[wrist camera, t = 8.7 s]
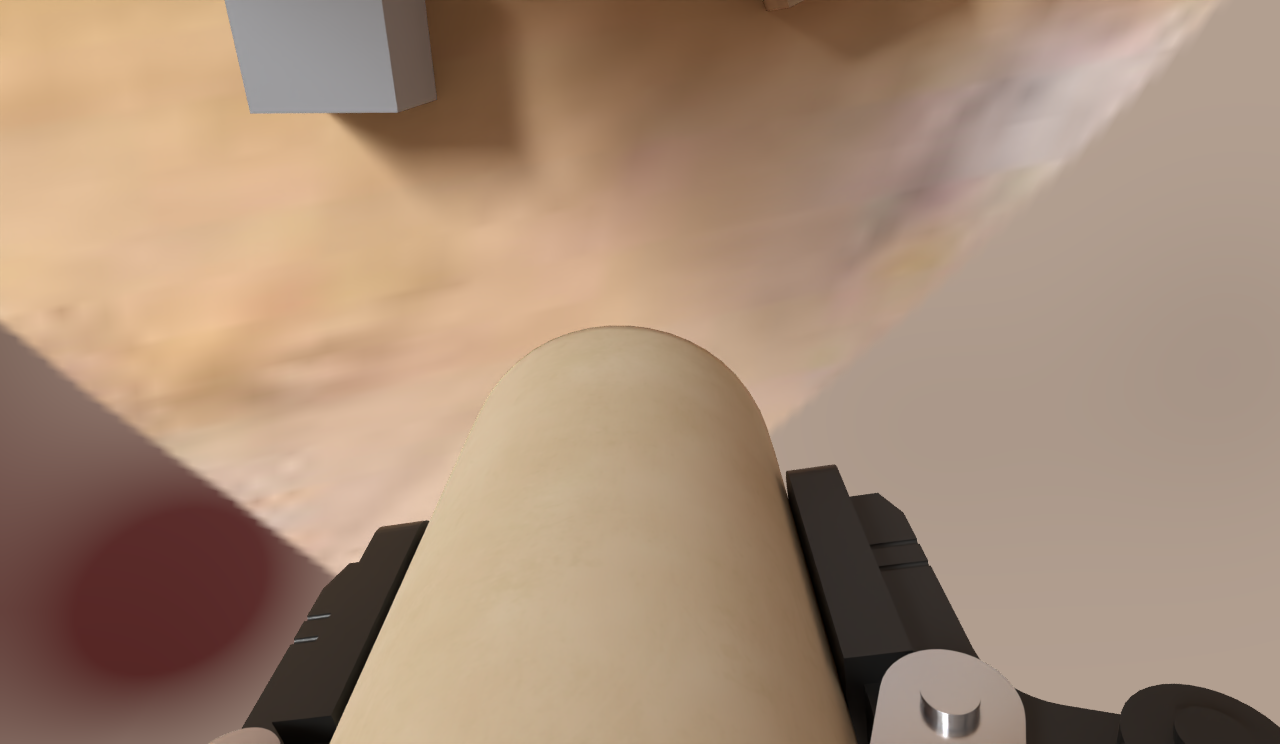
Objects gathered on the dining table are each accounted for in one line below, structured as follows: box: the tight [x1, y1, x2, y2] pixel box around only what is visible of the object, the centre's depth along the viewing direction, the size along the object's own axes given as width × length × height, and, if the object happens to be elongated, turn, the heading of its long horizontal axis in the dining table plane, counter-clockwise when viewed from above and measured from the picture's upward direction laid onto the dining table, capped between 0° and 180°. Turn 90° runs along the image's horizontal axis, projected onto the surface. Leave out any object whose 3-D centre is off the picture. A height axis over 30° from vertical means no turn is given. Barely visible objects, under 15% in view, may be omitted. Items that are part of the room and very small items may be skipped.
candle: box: [330, 326, 858, 744], centre depth 9 cm, size 6×6×10 cm
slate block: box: [225, 0, 437, 113], centre depth 25 cm, size 5×5×5 cm
